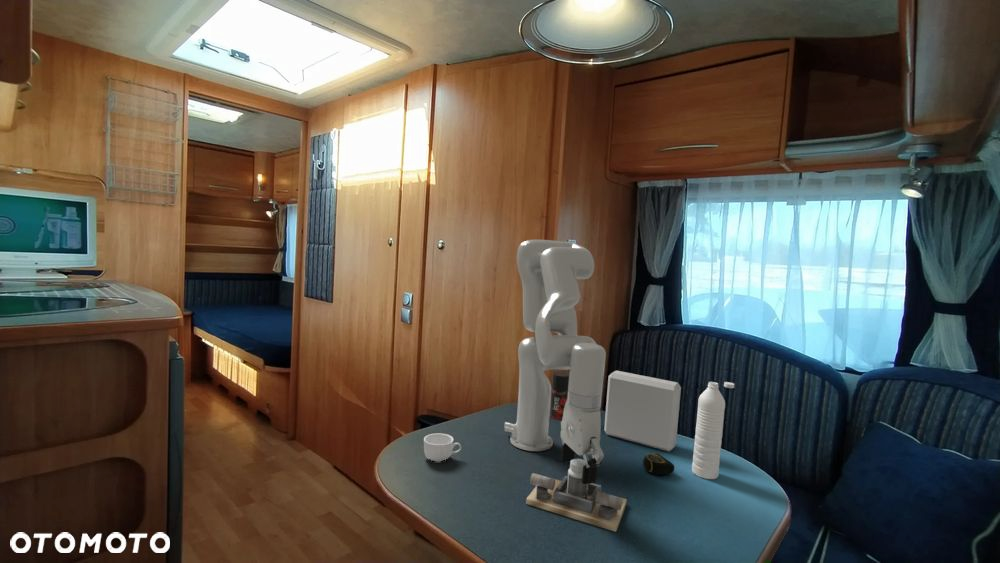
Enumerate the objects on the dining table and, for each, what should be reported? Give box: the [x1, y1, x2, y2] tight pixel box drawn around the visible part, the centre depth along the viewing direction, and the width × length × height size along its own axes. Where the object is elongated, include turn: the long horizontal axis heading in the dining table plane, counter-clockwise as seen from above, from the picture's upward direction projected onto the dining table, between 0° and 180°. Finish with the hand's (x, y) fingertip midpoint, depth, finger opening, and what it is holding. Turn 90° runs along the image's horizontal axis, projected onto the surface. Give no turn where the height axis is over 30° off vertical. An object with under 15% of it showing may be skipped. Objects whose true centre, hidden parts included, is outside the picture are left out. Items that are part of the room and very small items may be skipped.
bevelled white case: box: [603, 370, 682, 452], centre depth 142 cm, size 21×8×20 cm, turn 58°
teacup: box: [423, 432, 462, 461], centre depth 122 cm, size 10×8×5 cm
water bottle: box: [691, 381, 735, 480], centre depth 122 cm, size 9×6×25 cm
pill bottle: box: [567, 458, 588, 500], centre depth 104 cm, size 5×5×8 cm
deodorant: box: [549, 371, 569, 421], centre depth 159 cm, size 6×6×15 cm
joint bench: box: [525, 472, 627, 533], centre depth 104 cm, size 20×12×6 cm, turn 65°
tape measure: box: [642, 453, 675, 476], centre depth 122 cm, size 7×7×4 cm
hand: (577, 471), depth 104 cm, fingers open, 9 cm apart
